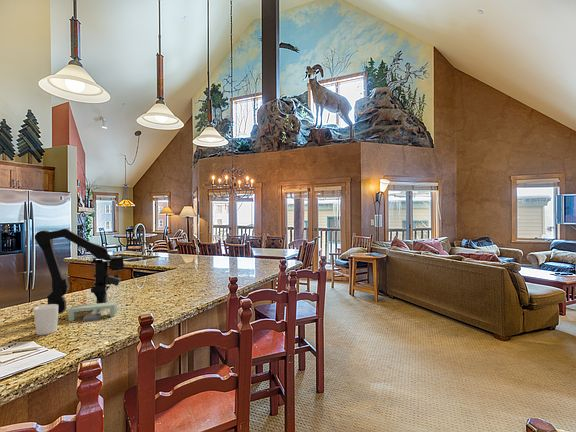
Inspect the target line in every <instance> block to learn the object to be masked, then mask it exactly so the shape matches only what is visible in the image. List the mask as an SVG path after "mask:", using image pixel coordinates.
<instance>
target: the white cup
mask: <svg viewBox="0 0 576 432" xmlns="http://www.w3.org/2000/svg"><path fill="white" fill-rule="evenodd" d="M33 316H34V327H35V334H36V335H38V336H46V335H49V334H53V333H55V332H57V331H58V324H59V323H58V322H59V312H58V305H57V304H48V303H47V304H44V305H39V306H35V307H33Z"/></svg>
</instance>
